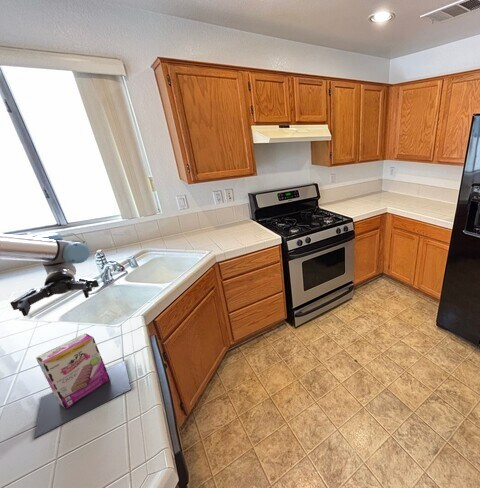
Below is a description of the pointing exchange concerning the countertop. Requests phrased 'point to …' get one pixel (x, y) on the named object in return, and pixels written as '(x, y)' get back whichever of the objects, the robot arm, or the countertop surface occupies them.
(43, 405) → the slate placemat
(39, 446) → the countertop surface
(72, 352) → the candy bar box
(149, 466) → the countertop surface
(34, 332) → the countertop surface
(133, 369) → the countertop surface
